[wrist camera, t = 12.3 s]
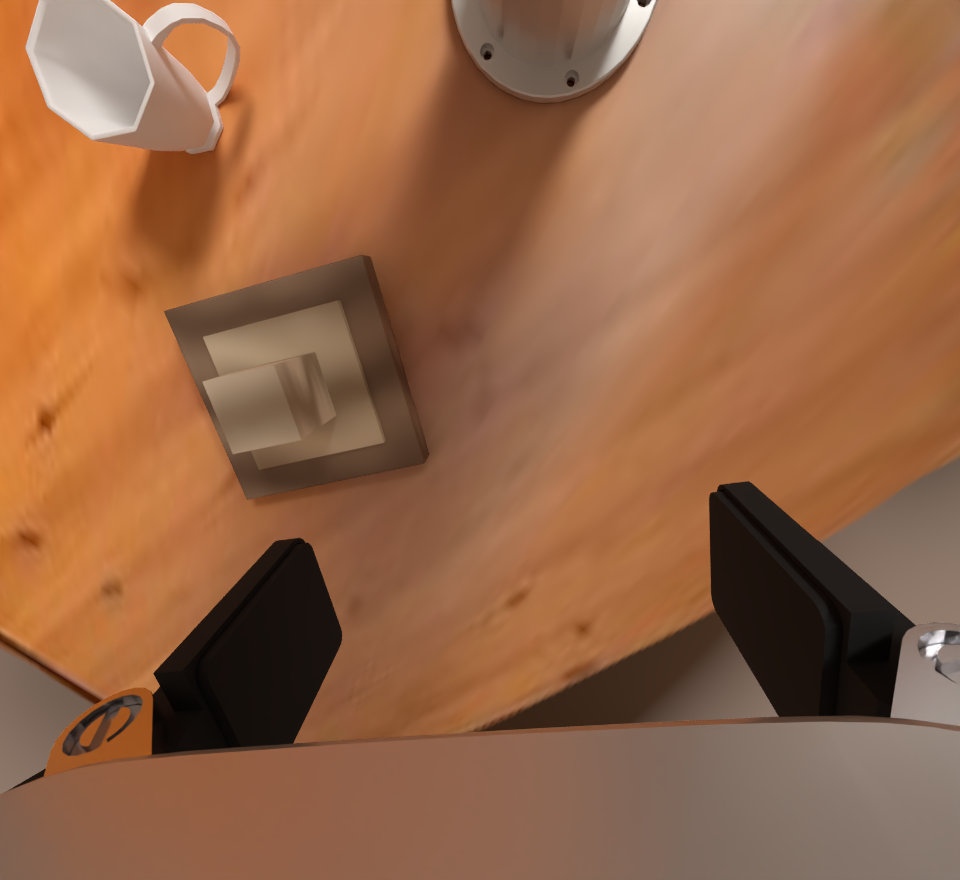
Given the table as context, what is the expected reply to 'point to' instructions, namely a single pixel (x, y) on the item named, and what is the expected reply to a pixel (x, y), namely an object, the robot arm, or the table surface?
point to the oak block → (271, 402)
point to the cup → (127, 74)
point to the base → (343, 361)
